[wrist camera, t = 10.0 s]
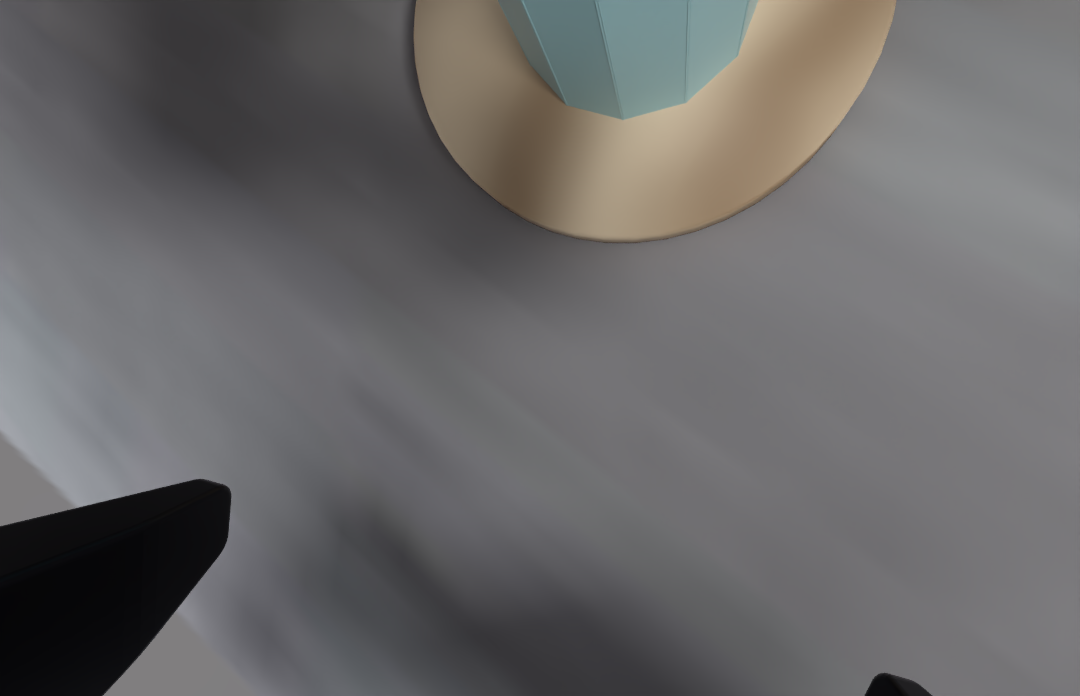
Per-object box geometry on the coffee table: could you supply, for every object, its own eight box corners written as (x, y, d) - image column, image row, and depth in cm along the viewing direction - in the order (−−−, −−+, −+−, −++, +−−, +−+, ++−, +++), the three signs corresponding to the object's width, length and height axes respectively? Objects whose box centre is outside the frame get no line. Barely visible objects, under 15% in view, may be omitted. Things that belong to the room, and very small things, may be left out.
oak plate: (989, -131, 15) (1015, -171, 14) (724, 323, 17) (727, 320, 16) (551, -251, 19) (543, -292, 18) (363, 136, 20) (344, 122, 19)
